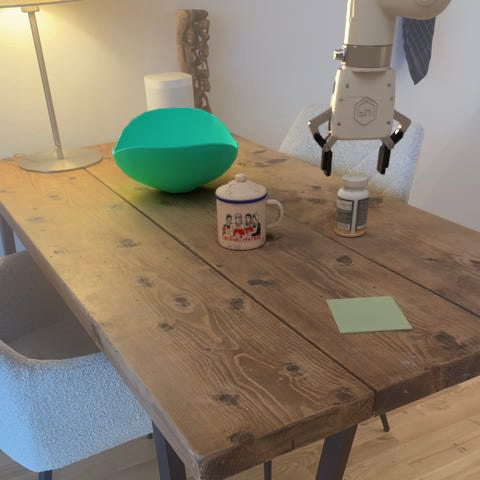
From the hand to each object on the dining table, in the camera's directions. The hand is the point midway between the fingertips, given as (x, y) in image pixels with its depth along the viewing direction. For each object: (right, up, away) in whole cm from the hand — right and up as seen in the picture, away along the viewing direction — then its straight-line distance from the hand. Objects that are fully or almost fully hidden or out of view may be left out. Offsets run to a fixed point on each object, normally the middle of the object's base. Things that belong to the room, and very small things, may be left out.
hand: (353, 173), depth 99 cm
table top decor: (-34, +10, +31) cm, 47 cm away
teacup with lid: (-18, -11, +4) cm, 22 cm away
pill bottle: (0, -8, +7) cm, 11 cm away
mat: (-2, -28, -19) cm, 34 cm away
